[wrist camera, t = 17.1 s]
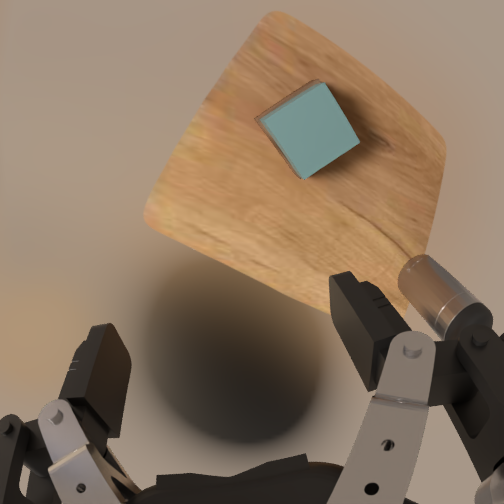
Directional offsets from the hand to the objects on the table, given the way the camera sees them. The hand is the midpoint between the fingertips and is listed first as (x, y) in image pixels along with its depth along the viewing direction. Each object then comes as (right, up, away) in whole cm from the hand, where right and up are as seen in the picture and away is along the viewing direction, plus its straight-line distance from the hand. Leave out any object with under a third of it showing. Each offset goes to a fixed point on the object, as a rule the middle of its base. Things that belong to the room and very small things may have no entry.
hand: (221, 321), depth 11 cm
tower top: (+8, +19, +29) cm, 35 cm away
